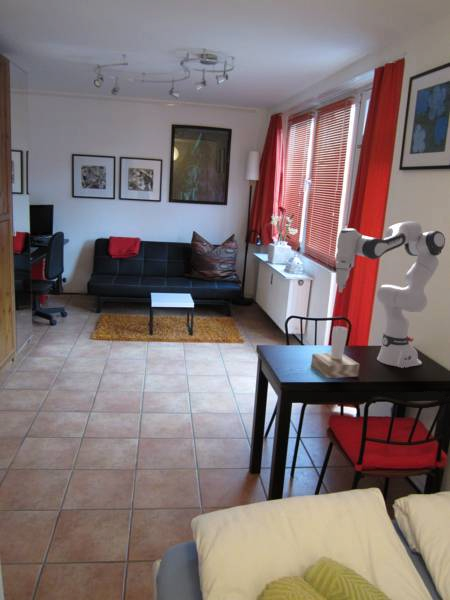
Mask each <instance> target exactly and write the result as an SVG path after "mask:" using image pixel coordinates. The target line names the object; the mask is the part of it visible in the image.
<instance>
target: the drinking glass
mask: <svg viewBox="0 0 450 600" xmlns="http://www.w3.org/2000/svg"><path fill="white" fill-rule="evenodd" d="M347 337H348V328H347V327H345V326H339V325H336V326H333V327H332V332H331V352H330V353H331V358H332V359H335V360H341V359H342V357H343V354H344V351H345V347H346V341H347Z"/></svg>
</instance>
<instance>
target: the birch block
mask: <svg viewBox="0 0 450 600" xmlns="http://www.w3.org/2000/svg"><path fill="white" fill-rule="evenodd" d="M310 365H311V367H312V368H313V369H315V370H317V371H318V372H319V374H321V375H323V376H324V377H326V378H327V379H339V378H348V377H349V378H350V377H353V378H354V377H358V376H359V371H360V363H359V362H357V361H355V360H354V359H352V358H350V357H349V356H347V355H346V354H344V353H343V357H342V359H341V360H335V359H332V358H331V352H325V353H324V352H323V353H322V352H321V353H312V355H311V364H310Z"/></svg>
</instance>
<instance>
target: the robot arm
mask: <svg viewBox="0 0 450 600" xmlns="http://www.w3.org/2000/svg"><path fill="white" fill-rule="evenodd" d="M445 244H446V237H445V235H444V234H443V233H442V232H441V231H439V230H430V231H424V232H423V228H422V226H421V224H419V222H418V221H415V220H414V221H413V220H409V221H403V222H397V223H395V224H393V225H390V226H389V227H387V229H386V232H385V238H378V237H372V236H367V235H364V234H361V233H360V232H359V231H358V230H357V229H356V228H352V227H351V228H347V227H346V228H343V229H342V230H340V232H339V234H338V238H337V245H336V247H337V252H336V256H335V263H334V264H335V269H336V270H335V271H336V272H335V275H336V276H335V277H336V278H335V282H336V284H337V285H338V291H337V292H338V293H343V290H344V289H346V285H347V281H348V279H349V278H350V271H351V269H352V268H354V266H355V259H356V255H357V256H360V257H364V258H368V259H371V260H372V261H373V260H377V259H380V258H381V257H383V255H384V254H386V253H388V252H390V251H392V250H396V249H398V248H400V247H401V246H404V250H405V252H406V254H408V255H409V256H412V257H417V259H416V260H415V262H413V264H412V265H411V266H410V268H409V269H408V270H407V271H406V273H405V275H404V278H403V279H404V283H405V284H406V286H399V285H395V284H382V285H381V286H380V287H379V288H378V290H377V291H376V292H377V293H376V297H377V300H378V302H379V303H380V305H381V306H382V309H383V311H384V314H385V325H384V331H383V334H382V341H381V347H380V350H379V353H378V355H377V357H376V360H377V361H378V362H380V363H382V364H385V365H389V366H394V367H397V368H401V369H404V367H405V368H409V367H414V366H415V367H416V366H420V365H422V364H423V363H422V360H420V359H419V357H418V355H419V353H418V351H417V350H416V349H415V348H414V347H413V346H412V345H411V344H410V342H411V343H412V342H414V338H413V337H411V336H408V332H409V326H410V322H409V320H408V318H407V317H406V316H405V314H404V313H403V311H406V312H409V313H421V312H423V311H424V310H425V309H426V307H427V305H428V298H427V295H426V294H425V292H424V290H425V287H426V286H427V284H428V283H429V281H430V280H431V278H432V277H433V276H434V274H435V272H436V271H437V268H438V266H439V264H440V263H439V259H438V257H437V256H439V255H441V253H442V250H444V247H445Z"/></svg>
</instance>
